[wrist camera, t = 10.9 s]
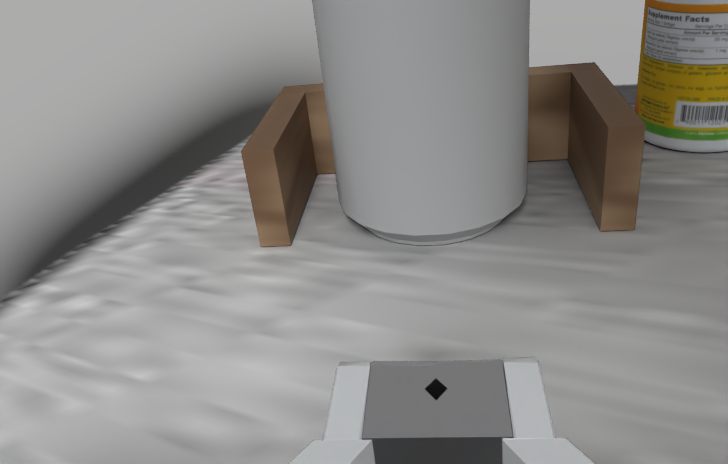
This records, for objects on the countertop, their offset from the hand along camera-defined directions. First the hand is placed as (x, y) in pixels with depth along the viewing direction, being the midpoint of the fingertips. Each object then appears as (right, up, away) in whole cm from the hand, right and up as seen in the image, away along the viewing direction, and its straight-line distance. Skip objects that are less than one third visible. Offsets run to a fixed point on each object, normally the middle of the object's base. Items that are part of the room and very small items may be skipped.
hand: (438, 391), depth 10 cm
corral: (+2, +4, +18) cm, 19 cm away
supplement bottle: (+14, +7, +21) cm, 26 cm away
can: (+2, +3, +17) cm, 17 cm away
